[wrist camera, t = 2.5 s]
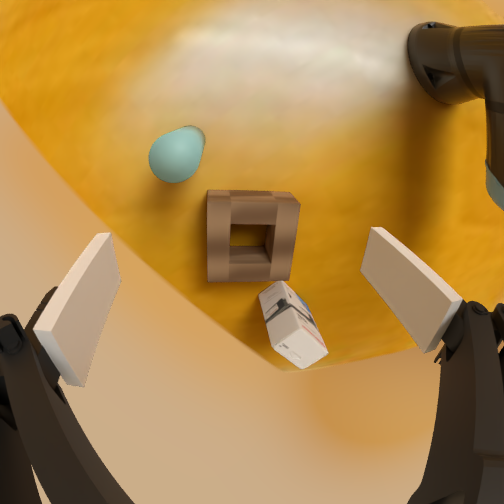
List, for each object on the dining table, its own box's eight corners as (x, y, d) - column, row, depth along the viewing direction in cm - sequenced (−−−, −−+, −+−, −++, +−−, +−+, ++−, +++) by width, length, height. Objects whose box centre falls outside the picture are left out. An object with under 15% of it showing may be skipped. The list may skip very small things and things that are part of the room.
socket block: (207, 189, 35) (207, 201, 30) (289, 192, 36) (300, 203, 32) (207, 262, 40) (207, 282, 36) (280, 262, 42) (288, 280, 37)
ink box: (308, 304, 47) (331, 354, 36) (286, 320, 48) (303, 371, 38) (280, 276, 43) (301, 328, 33) (256, 294, 44) (269, 348, 34)
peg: (174, 126, 30) (148, 133, 18) (206, 125, 31) (200, 131, 18) (173, 156, 32) (149, 183, 20) (204, 156, 32) (199, 182, 20)
